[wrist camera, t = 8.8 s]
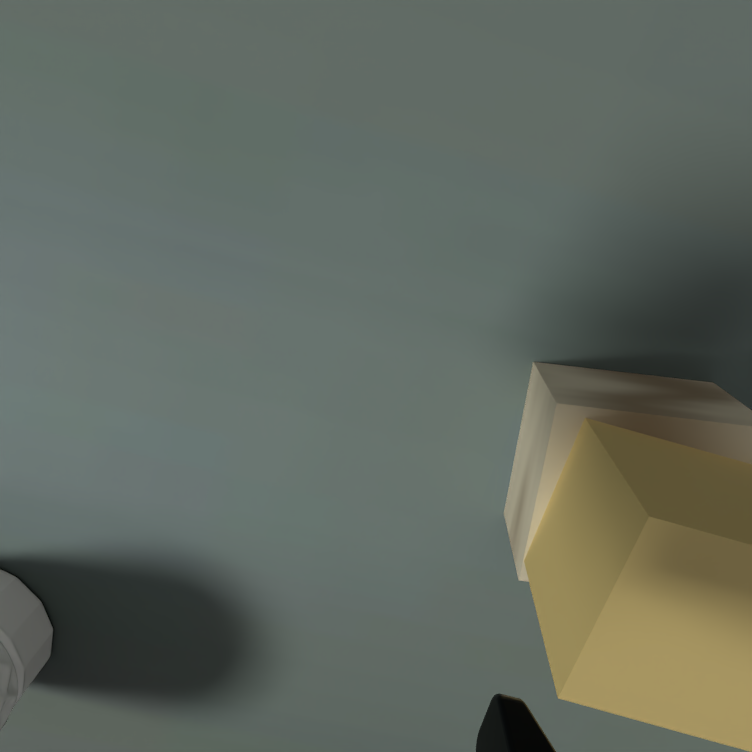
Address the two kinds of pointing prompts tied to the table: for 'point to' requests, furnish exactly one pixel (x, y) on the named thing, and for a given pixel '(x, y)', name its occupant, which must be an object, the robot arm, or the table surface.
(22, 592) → the white cup
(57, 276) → the table surface
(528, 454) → the birch base block
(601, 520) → the ochre block
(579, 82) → the table surface
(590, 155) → the table surface
